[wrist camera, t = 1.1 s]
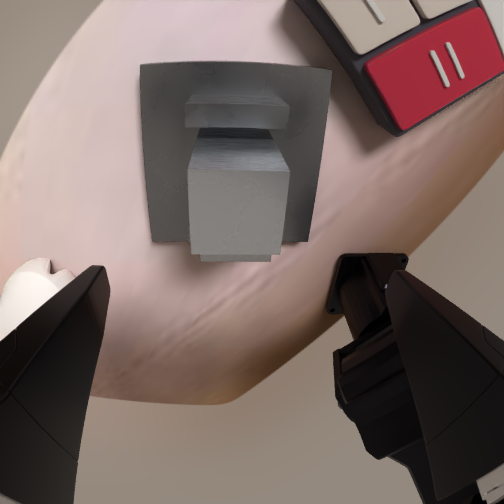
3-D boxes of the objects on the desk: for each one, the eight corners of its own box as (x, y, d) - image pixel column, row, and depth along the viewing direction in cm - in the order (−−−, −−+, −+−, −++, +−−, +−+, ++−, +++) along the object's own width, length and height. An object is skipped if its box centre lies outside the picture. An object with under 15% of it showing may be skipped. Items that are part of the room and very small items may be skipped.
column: (263, 195, 21) (279, 261, 15) (200, 194, 20) (191, 261, 15) (268, 129, 18) (290, 171, 13) (199, 127, 18) (187, 170, 12)
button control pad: (295, -17, 12) (478, -81, 6) (284, -6, 15) (445, -72, 10) (400, 144, 17) (543, 57, 12) (374, 124, 21) (507, 47, 15)
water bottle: (89, 317, 28) (37, 579, 8) (26, 299, 26) (-50, 536, 6) (87, 258, 24) (-1, 584, 4) (16, 240, 22) (-105, 516, 2)
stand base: (304, 232, 24) (321, 278, 20) (155, 232, 23) (141, 279, 19) (326, 69, 17) (358, 77, 13) (145, 63, 16) (118, 69, 12)
